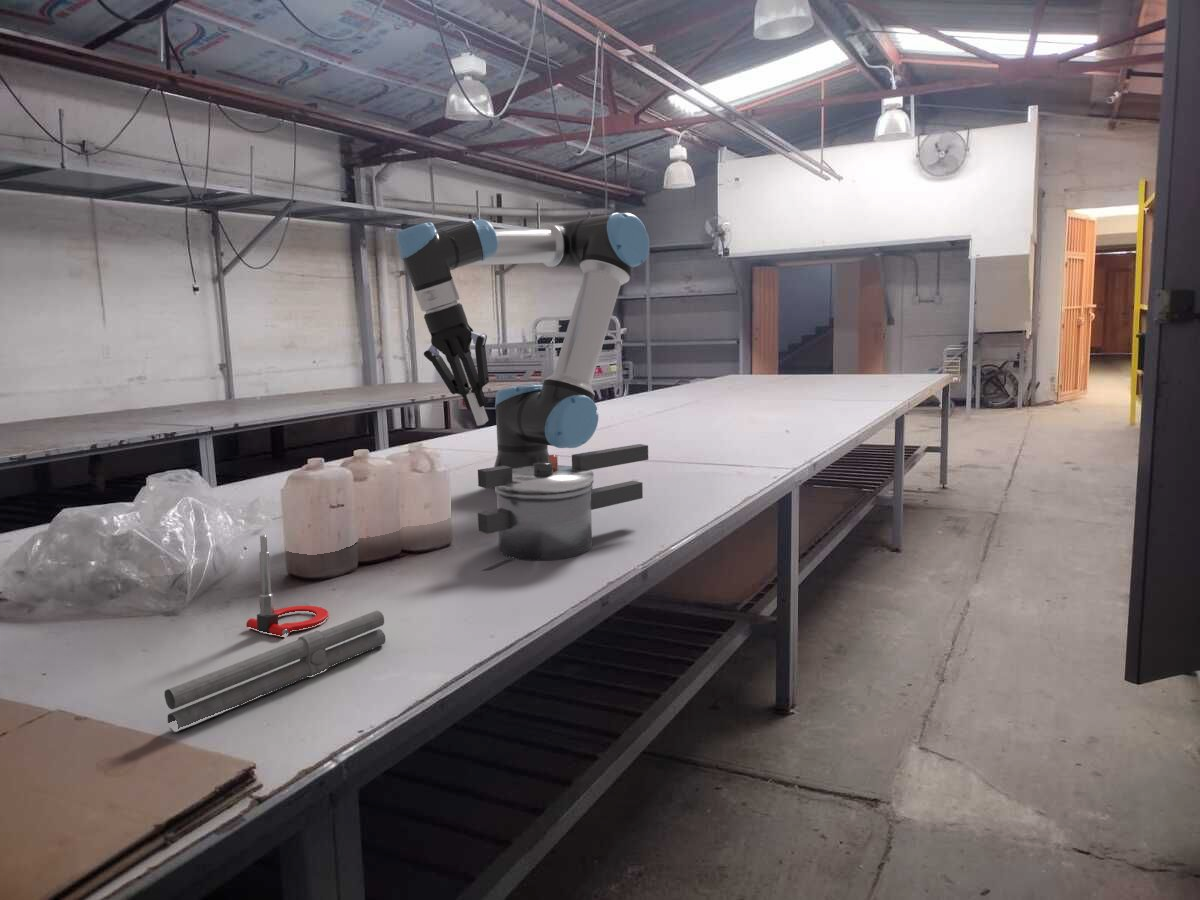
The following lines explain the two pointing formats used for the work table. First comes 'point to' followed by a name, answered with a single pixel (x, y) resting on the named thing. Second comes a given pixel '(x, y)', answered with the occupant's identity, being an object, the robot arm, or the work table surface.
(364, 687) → the work table surface
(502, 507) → the pot
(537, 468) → the lid
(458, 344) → the robot arm
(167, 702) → the metal rod assembly
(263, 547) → the tow hook
